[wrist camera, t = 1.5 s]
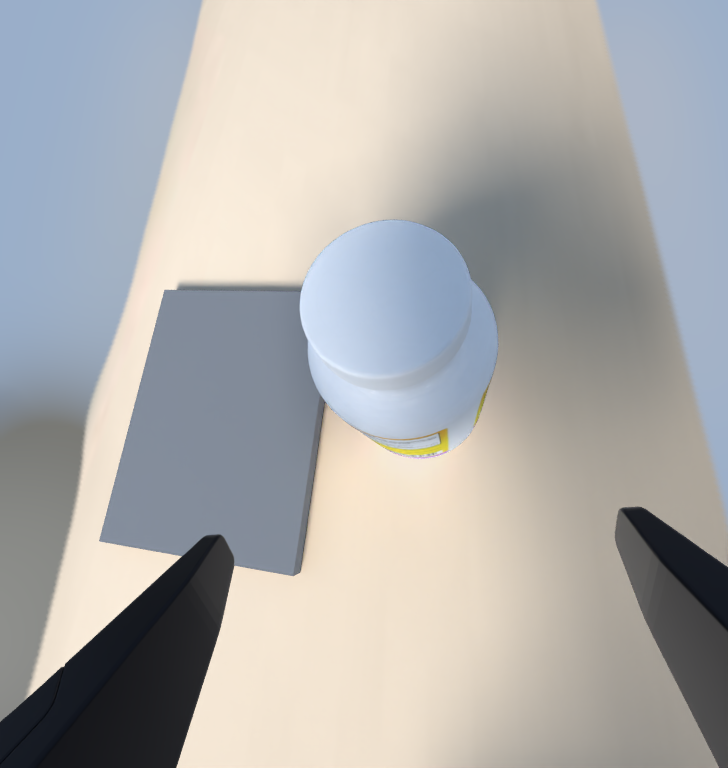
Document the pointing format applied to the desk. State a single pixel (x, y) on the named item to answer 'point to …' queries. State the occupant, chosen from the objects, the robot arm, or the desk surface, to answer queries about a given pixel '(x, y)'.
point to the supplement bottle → (399, 336)
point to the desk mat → (221, 431)
